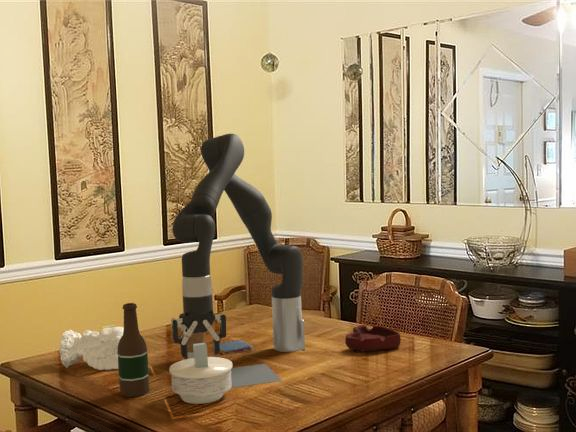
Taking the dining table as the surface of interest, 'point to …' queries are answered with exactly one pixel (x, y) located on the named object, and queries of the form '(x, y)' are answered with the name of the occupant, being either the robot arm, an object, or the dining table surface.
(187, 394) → the paper bowls
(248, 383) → the mat
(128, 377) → the beer bottle
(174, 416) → the dining table surface
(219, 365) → the lid
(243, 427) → the dining table surface
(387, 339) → the ashtray
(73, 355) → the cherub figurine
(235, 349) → the woven mat
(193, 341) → the coffee cup
